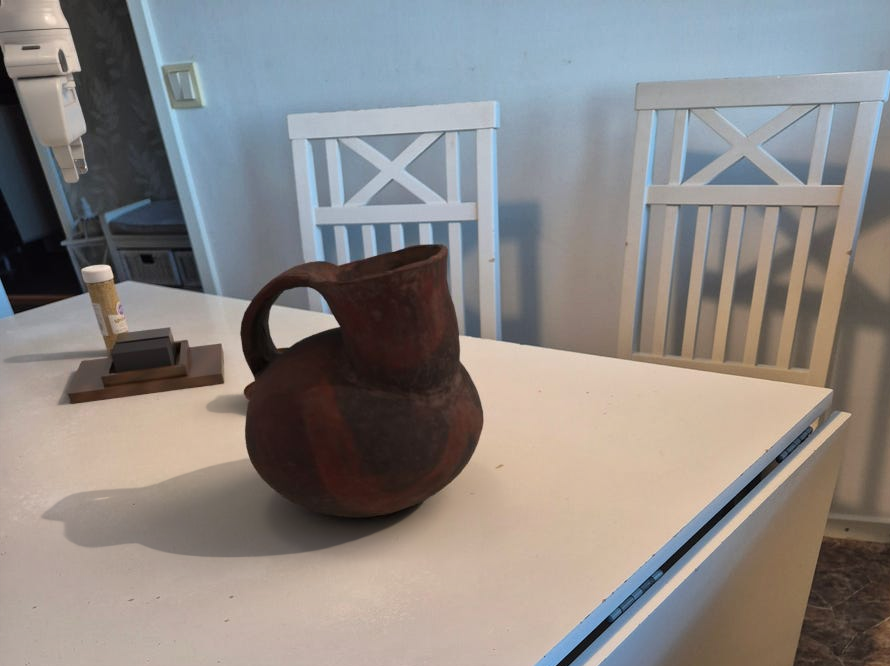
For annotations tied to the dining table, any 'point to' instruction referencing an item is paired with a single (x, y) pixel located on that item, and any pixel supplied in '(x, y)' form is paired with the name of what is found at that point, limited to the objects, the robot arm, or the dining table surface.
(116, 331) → the sprinkles bottle
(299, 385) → the jug
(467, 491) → the dining table surface
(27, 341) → the dining table surface
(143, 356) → the pad
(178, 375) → the brown stepped wooden stand
